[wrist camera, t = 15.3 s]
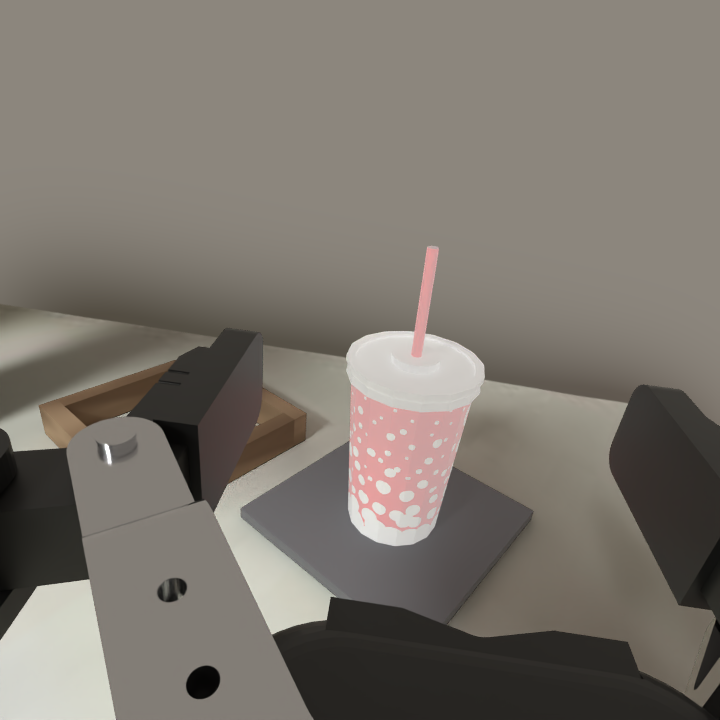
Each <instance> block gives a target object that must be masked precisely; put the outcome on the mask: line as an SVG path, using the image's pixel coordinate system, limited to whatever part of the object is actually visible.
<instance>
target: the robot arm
mask: <svg viewBox="0 0 720 720" xmlns="http://www.w3.org/2000/svg"><path fill="white" fill-rule="evenodd" d="M262 379H263V338H262V334H261V333H260V332H253V331H246V330H238V329H231V328H226V329H224V331H223V332H222V333H221V335H220V336H219V337H218V338H217V339H216V341H215V342H214V343H213V344H212V346H211V347H210V348H206V347H197V348H195V349H193V350H191V351H189V352H187V353H185V354H183V355H181V356H179V357H178V359H177V360H176V361H175V362H174V363H173V364H172V365H171V366H170V368H169V369H168V372H165V373H164V374H163V375H162V377H161V378H160V379H159V380H158V383H155V385H154V386H153V387H152V388H151V389H150V390H149V391H148V392H147V394H146V395H145V396H144V397H143V398H142V399H141V400H140V402H139V403H138V404H137V405H136V406H135V407H134V408H133V409H132V411H131V412H130V413H129V414H128V415H127V416H126V417H117V418H111V419H106V420H102V421H99V422H97V423H94V424H92V425H90V426H87V427H86V428H84V429H82V430H81V431H79V432H78V433H77V434H76V435H75V436H74V437H73V438H72V439H71V440H70V442H69V444H68V446H67V448H59V449H45V450H31V451H17V452H13V449H12V446H11V442H10V438H9V436H8V434H7V433H6V432H5V431H4V430H2V429H0V640H1V639H2V637H3V636H4V634H5V633H6V631H7V630H8V628H9V627H10V625H11V624H12V622H13V621H14V620H15V618H16V617H17V615H18V614H19V612H20V611H21V609H22V608H23V606H24V605H25V603H26V602H27V600H28V599H29V598H30V596H31V595H32V593H33V592H34V590H35V589H36V587H37V586H42V585H49V584H57V583H64V582H72V581H80V580H87V579H90V584H91V589H92V595H93V600H94V605H95V610H96V616H97V621H98V626H99V631H100V637H101V642H102V647H103V653H104V658H105V663H106V668H107V674H108V679H109V684H110V689H111V695H112V700H113V705H114V711H115V716H116V720H720V426H719V425H717V424H715V423H714V422H713V421H711V420H710V419H708V418H707V417H706V416H705V415H704V414H703V413H702V412H701V411H700V410H699V409H698V407H697V406H696V405H695V404H694V403H693V402H692V400H691V399H690V398H689V397H688V396H687V395H686V394H685V393H684V392H683V391H682V390H679V389H673V388H665V387H657V386H650V385H640V386H638V387H637V388H636V389H635V390H634V392H633V394H632V396H631V398H630V401H629V403H628V405H627V408H626V410H625V413H624V415H623V418H622V420H621V422H620V425H619V427H618V430H617V432H616V434H615V437H614V439H613V442H612V444H611V448H610V454H609V464H610V469H611V472H612V475H613V477H614V479H615V481H616V483H617V485H618V487H619V489H620V490H621V492H622V494H623V496H624V498H625V500H626V502H627V504H628V506H629V508H630V510H631V512H632V514H633V516H634V518H635V520H636V522H637V524H638V526H639V528H640V530H641V532H642V534H643V536H644V538H645V540H646V542H647V543H648V545H649V547H650V549H651V551H652V553H653V555H654V557H655V559H656V561H657V563H658V565H659V567H660V569H661V571H662V573H663V575H664V577H665V579H666V581H667V583H668V585H669V587H670V589H671V591H672V593H673V594H674V596H675V598H676V600H677V602H678V604H679V605H681V606H688V607H694V608H701V609H708V610H712V612H713V613H714V615H715V617H714V619H713V620H712V622H711V623H710V625H709V626H708V628H707V630H706V632H705V635H704V638H703V641H702V644H701V647H700V650H699V652H698V655H697V658H696V661H695V664H694V667H693V670H692V673H691V676H690V679H689V682H688V685H687V688H686V691H685V694H682V693H681V692H679V691H677V690H676V689H674V688H672V687H671V686H669V685H667V684H666V683H664V682H662V681H659V680H657V679H655V678H653V677H651V676H649V675H647V674H645V673H643V672H640V671H639V670H638V668H637V665H636V662H635V660H634V657H633V655H632V652H631V649H630V647H629V644H628V642H624V641H618V640H611V639H604V638H598V637H591V636H585V635H578V634H572V633H565V632H559V631H546V632H536V633H526V634H517V635H507V636H497V637H477V636H473V635H471V634H468V633H465V632H463V631H460V630H458V629H455V628H453V627H450V626H448V625H445V624H443V623H440V622H438V621H435V620H432V619H430V618H427V617H425V616H422V615H420V614H417V613H415V612H412V611H410V610H407V609H405V608H401V607H395V606H388V605H381V604H375V603H368V602H362V601H355V600H349V599H342V598H336V597H331V599H330V605H329V611H328V617H327V620H325V621H315V622H310V623H305V624H301V625H296V626H293V627H290V628H288V629H285V630H282V631H279V632H277V633H275V634H273V635H272V634H271V632H270V630H269V628H268V626H267V624H266V622H265V620H264V618H263V615H262V613H261V611H260V609H259V607H258V605H257V603H256V601H255V599H254V597H253V595H252V592H251V590H250V588H249V586H248V584H247V582H246V580H245V578H244V576H243V574H242V572H241V569H240V567H239V565H238V563H237V561H236V559H235V557H234V555H233V553H232V551H231V548H230V546H229V544H228V542H227V540H226V538H225V536H224V534H223V532H222V530H221V528H220V525H219V523H218V521H217V519H216V517H215V515H214V511H215V509H216V507H217V504H218V502H219V500H220V498H221V496H222V494H223V492H224V490H225V488H226V486H227V483H228V481H229V479H230V477H231V475H232V473H233V471H234V469H235V467H236V465H237V463H238V460H239V458H240V456H241V454H242V452H243V450H244V448H245V446H246V444H247V442H248V439H249V437H250V435H251V433H252V431H253V429H254V427H255V425H256V423H257V420H258V417H259V413H260V409H261V403H262Z"/></svg>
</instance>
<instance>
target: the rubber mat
mask: <svg viewBox="0 0 720 720" xmlns="http://www.w3.org/2000/svg"><path fill="white" fill-rule="evenodd" d="M349 449H350V441H348V442H347V443H345V444H344V445H342V446H340V447H339V448H337V449H335V450H334V451H332V452H331V453H329V454H327V455H326V456H324V457H323V458H321V459H319V460H318V461H316V462H314V463H313V464H311V465H310V466H308V467H306V468H305V469H303V470H302V471H300V472H298V473H297V474H295V475H293V476H292V477H290V478H289V479H287V480H285V481H284V482H282V483H281V484H279V485H277V486H276V487H274V488H272V489H271V490H269V491H268V492H266V493H264V494H263V495H261V496H260V497H258V498H256V499H255V500H253V501H251V502H250V503H248V504H247V505H245V506H243V507H242V508H241V517H242V518H243V519H244V520H245V521H246V522H248V523H249V524H250V525H251V526H252V527H254V528H255V529H256V530H257V531H258V532H260V533H261V534H262V535H263V536H264V537H266V538H267V539H268V540H269V541H270V542H272V543H273V544H274V545H275V546H276V547H278V548H279V549H280V550H281V551H282V552H284V553H285V554H286V555H287V556H288V557H290V558H291V559H292V560H293V561H295V562H296V563H297V564H298V565H299V566H301V567H302V568H303V569H304V570H305V571H307V572H308V573H309V574H310V575H311V576H313V577H314V578H315V579H316V580H317V581H319V582H320V583H321V584H322V585H323V586H325V587H326V588H327V589H328V590H329V591H331V592H332V593H333V594H334V595H335V596H337V597H338V598H342V599H349V600H355V601H362V602H368V603H375V604H381V605H388V606H395V607H401V608H405V609H407V610H410V611H412V612H415V613H417V614H420V615H422V616H425V617H427V618H430V619H432V620H435V621H438V622H440V623H443V624H445V625H446V624H447V623H448V622H449V621H450V619H451V618H452V617H453V616H454V615H455V613H456V612H457V611H458V610H459V608H460V607H461V606H462V605H463V603H464V602H465V601H466V600H467V598H468V597H469V596H470V595H471V593H472V592H473V591H474V590H475V588H476V587H477V586H478V585H479V583H480V582H481V581H482V580H483V578H484V577H485V576H486V575H487V573H488V572H489V571H490V570H491V568H492V567H493V566H494V565H495V563H496V562H497V561H498V560H499V558H500V557H501V556H502V555H503V553H504V552H505V551H506V550H507V548H508V547H509V546H510V545H511V543H512V542H513V541H514V540H515V538H516V537H517V536H518V535H519V534H520V532H521V531H522V530H523V529H524V527H525V526H526V525H527V524H528V522H529V521H530V520H531V517H532V514H533V510H531V509H529V508H527V507H525V506H524V505H522V504H520V503H518V502H516V501H514V500H513V499H511V498H509V497H507V496H505V495H504V494H502V493H500V492H498V491H496V490H494V489H493V488H491V487H489V486H487V485H485V484H484V483H482V482H480V481H478V480H476V479H474V478H473V477H471V476H469V475H467V474H465V473H464V472H462V471H460V470H458V469H456V468H454V467H452V470H451V473H450V477H449V480H448V483H447V487H446V490H445V493H444V497H443V500H442V504H441V507H440V510H439V514H438V517H437V520H436V524H435V527H434V528H433V530H432V531H431V532H430V534H429V535H428V536H427V537H426V538H424V539H422V540H420V541H418V542H416V543H414V544H411V545H401V546H392V545H387V544H383V543H378V542H375V541H374V540H372V539H370V538H368V537H367V536H365V535H363V534H361V533H360V531H359V530H358V529H357V528H356V527H355V525H354V524H353V523H352V522H351V518H350V515H349V511H348V491H349Z"/></svg>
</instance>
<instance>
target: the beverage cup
mask: <svg viewBox="0 0 720 720" xmlns="http://www.w3.org/2000/svg"><path fill="white" fill-rule="evenodd" d="M438 252H439V248H438V247H436V246H428V247H427V252H426V259H425V266H424V272H423V279H422V286H421V293H420V299H419V307H418V313H417V319H416V326H415V332H411V331H385V332H380V333H375V334H370V335H366V336H364V337H362V338H361V339H359V340H357V341H355V342H353V343H352V345H351V347H350V349H349V351H348V353H347V356H346V361H347V363H348V365H347V369H346V372H347V374H348V377H349V380H350V383H351V407H350V449H349V491H348V511H349V515H350V518H351V522H352V523H353V524H354V525H355V527H356V528H357V529H358V530H359V531H360V533H361V534H363V535H365V536H367V537H368V538H370V539H372V540H374V541H375V542H378V543H383V544H387V545H392V546H401V545H411V544H414V543H416V542H418V541H420V540H422V539H424V538H426V537H427V536H428V535H429V534H430V532H431V531H432V530H433V528H434V527H435V524H436V520H437V517H438V514H439V510H440V507H441V504H442V500H443V497H444V493H445V490H446V487H447V483H448V480H449V477H450V473H451V470H452V467H453V463H454V460H455V456H456V453H457V450H458V446H459V443H460V440H461V436H462V433H463V430H464V426H465V423H466V419H467V416H468V413H469V409H470V406H471V403H472V401H473V400H474V399H475V398H476V397H477V396H478V395H479V394H480V386H481V385H482V384H483V382H484V378H485V376H484V364H483V363H482V362H481V361H480V360H479V359H478V357H477V356H476V355H475V354H474V353H473V352H471V351H470V350H468V349H466V348H465V347H463V346H461V345H459V344H458V343H456V342H453V341H450V340H447V339H444V338H441V337H438V336H435V335H430V334H425V332H426V326H427V319H428V313H429V307H430V301H431V295H432V288H433V283H434V276H435V270H436V264H437V258H438Z"/></svg>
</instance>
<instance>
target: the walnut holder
mask: <svg viewBox="0 0 720 720" xmlns="http://www.w3.org/2000/svg"><path fill="white" fill-rule="evenodd" d="M175 361H176V360H174V361H171V362H168V363H165V364H162V365H159V366H156V367H153V368H150V369H147V370H144V371H141V372H138V373H135V374H132V375H128V376H125V377H122V378H119V379H116V380H113V381H110V382H107V383H104V384H101V385H98V386H95V387H92V388H89V389H86V390H83V391H80V392H77V393H74V394H71V395H68V396H65V397H62V398H59V399H56V400H53V401H50V402H47V403H44V404H41V405H39V408H40V413H41V417H42V421H43V425H44V430H45V434H46V435H47V436H48V437H49V438H50V439H51V440H52V441H53V442H54V443H55V444H56V445H57V446H58V447H59V448H67V446H68V444H69V442H70V440H71V439H72V438H73V437H74V436H75V435H76V434H77V433H78V432H79V431H81V430H82V429H84V428H86V427H87V426H90V425H92V424H94V423H97V422H99V421H102V420H106V419H111V418H113V417H116V416H118V415H121V414H124V413H126V412H129V411H131V410H132V409H133V408H134V407H135V406H136V405H137V404H138V403H139V402H140V400H141V399H142V398H143V397H144V396H145V395H146V394H147V392H148V391H149V390H150V389H151V388H152V387H153V386H154V385H155V383H158V380H159V379H160V378H161V377H162V375H163V374H164V373H165V372H168V369H169V368H170V366H171V365H172V364H173V363H174V362H175ZM257 423H259V425H257V426H255V427H254V429H253V431H252V433H251V435H250V437H249V439H248V442H247V444H246V446H245V448H244V450H243V452H242V454H241V456H240V458H239V460H238V463H237V465H236V467H235V469H234V471H233V473H232V475H231V477H230V479H229V481H228V483H230V482H231V481H233V480H235V479H237V478H239V477H240V476H242V475H244V474H246V473H247V472H249V471H251V470H253V469H254V468H256V467H258V466H260V465H261V464H263V463H265V462H267V461H269V460H270V459H272V458H274V457H276V456H277V455H279V454H281V453H283V452H284V451H286V450H288V449H290V448H292V447H293V446H295V445H297V444H299V443H300V442H302V441H304V440H305V434H306V413H305V412H303V411H302V410H300V409H298V408H296V407H295V406H293V405H291V404H290V403H288V402H286V401H285V400H283V399H281V398H280V397H278V396H276V395H275V394H273V393H271V392H269V391H268V390H266V389H264V388H263V387H262V403H261V409H260V413H259V417H258V420H257ZM228 483H227V484H228Z"/></svg>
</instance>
